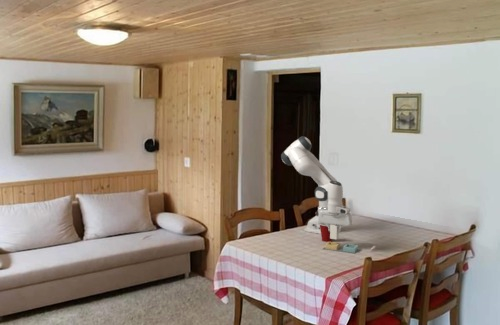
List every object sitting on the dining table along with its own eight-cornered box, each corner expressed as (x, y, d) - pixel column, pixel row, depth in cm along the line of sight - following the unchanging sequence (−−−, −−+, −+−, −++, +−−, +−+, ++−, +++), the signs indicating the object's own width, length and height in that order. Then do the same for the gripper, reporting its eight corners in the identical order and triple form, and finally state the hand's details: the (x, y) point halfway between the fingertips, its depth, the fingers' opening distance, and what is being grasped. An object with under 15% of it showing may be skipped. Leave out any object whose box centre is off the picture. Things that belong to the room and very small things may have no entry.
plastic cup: (338, 243, 322) (339, 225, 320) (322, 244, 320) (322, 225, 318) (332, 239, 332) (332, 221, 331) (316, 240, 330) (316, 221, 329)
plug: (330, 238, 308) (330, 223, 307) (332, 237, 312) (332, 222, 311) (336, 239, 306) (336, 224, 305) (338, 237, 310) (338, 223, 309)
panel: (322, 250, 307) (322, 245, 306) (329, 245, 317) (329, 240, 317) (355, 255, 297) (355, 249, 297) (361, 250, 308) (361, 244, 307)
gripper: (316, 207, 309) (316, 230, 310) (349, 211, 299) (349, 234, 301) (320, 206, 314) (319, 228, 316) (353, 209, 305) (352, 232, 307)
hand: (334, 231), depth 308 cm, fingers closed on plug, 4 cm apart
